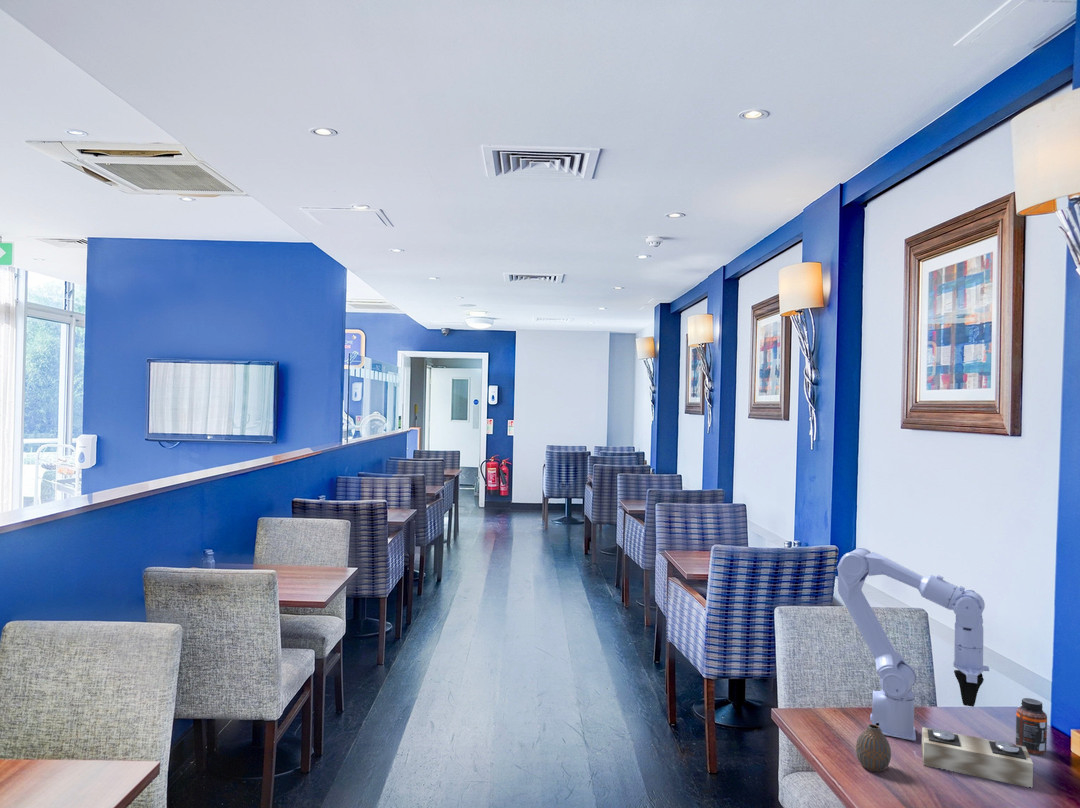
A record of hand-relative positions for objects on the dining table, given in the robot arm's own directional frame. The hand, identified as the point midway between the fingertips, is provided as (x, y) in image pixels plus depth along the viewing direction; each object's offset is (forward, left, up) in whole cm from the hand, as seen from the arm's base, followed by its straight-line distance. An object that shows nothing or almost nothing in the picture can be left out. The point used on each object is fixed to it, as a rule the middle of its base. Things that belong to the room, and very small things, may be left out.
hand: (968, 705), depth 169 cm
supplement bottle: (+14, +8, -11) cm, 19 cm away
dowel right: (+7, -9, -9) cm, 14 cm away
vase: (-19, -20, -11) cm, 30 cm away
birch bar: (+1, -9, -10) cm, 14 cm away
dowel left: (-5, -9, -9) cm, 14 cm away
